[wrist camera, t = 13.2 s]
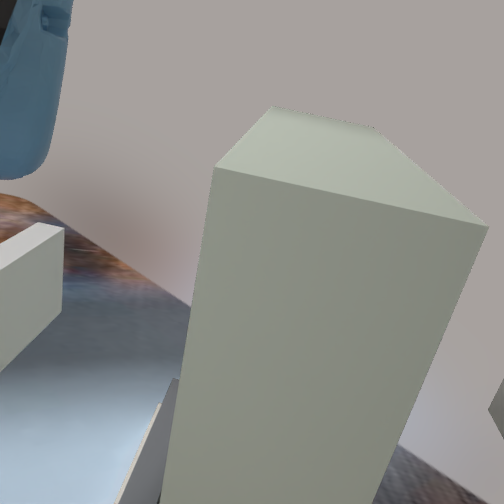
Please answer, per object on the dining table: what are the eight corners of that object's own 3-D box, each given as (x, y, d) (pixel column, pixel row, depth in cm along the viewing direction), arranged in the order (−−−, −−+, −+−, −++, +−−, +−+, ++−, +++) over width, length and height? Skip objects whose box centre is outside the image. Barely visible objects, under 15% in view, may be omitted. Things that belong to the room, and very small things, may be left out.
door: (230, 837, 11) (488, 226, 5) (110, 806, 11) (214, 166, 5) (265, 479, 21) (367, 122, 14) (201, 464, 21) (275, 102, 14)
